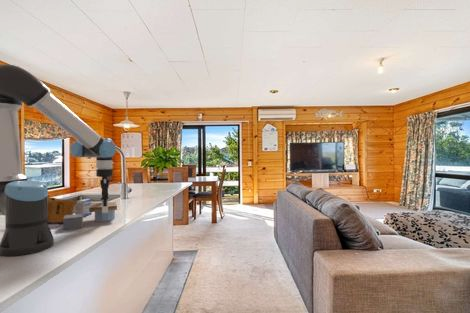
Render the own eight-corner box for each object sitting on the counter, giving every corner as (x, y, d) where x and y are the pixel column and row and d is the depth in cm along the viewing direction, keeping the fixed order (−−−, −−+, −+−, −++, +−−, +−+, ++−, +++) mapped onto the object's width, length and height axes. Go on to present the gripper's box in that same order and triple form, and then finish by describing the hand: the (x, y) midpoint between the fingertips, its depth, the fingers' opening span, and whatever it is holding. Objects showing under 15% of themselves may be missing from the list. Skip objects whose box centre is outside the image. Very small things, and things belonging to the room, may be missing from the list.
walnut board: (116, 209, 129) (116, 205, 129) (89, 212, 124) (89, 208, 124) (115, 205, 140) (115, 201, 140) (90, 207, 134) (90, 203, 134)
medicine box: (83, 217, 136) (83, 201, 136) (74, 217, 136) (74, 201, 136) (91, 214, 144) (91, 198, 144) (83, 214, 144) (83, 198, 144)
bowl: (114, 220, 130) (114, 209, 130) (94, 222, 126) (94, 211, 126) (114, 216, 138) (114, 206, 138) (94, 218, 134) (94, 207, 134)
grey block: (81, 227, 117) (81, 216, 117) (63, 230, 113) (63, 218, 113) (82, 224, 123) (82, 213, 123) (65, 226, 120) (65, 215, 120)
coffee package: (41, 197, 133) (82, 198, 132) (37, 221, 131) (79, 223, 130) (25, 196, 124) (69, 197, 123) (20, 222, 121) (65, 224, 120)
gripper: (114, 169, 123) (114, 214, 123) (111, 167, 145) (111, 205, 145) (96, 170, 119) (96, 216, 119) (96, 167, 141) (96, 206, 141)
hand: (104, 210), depth 132 cm, fingers open, 13 cm apart
